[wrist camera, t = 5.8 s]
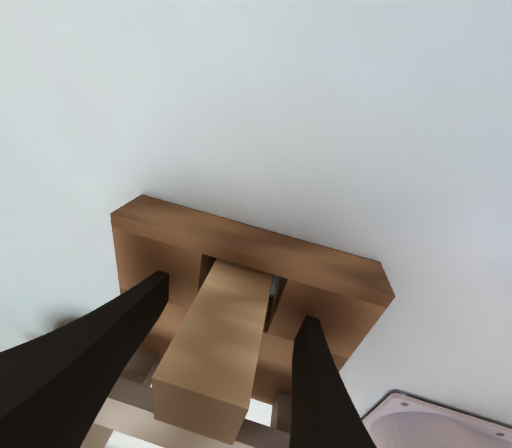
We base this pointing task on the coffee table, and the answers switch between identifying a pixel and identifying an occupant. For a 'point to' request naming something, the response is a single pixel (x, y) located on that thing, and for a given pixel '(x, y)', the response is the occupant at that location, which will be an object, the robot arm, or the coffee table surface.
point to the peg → (214, 354)
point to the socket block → (276, 320)
